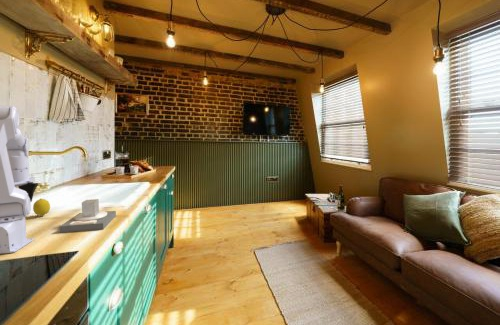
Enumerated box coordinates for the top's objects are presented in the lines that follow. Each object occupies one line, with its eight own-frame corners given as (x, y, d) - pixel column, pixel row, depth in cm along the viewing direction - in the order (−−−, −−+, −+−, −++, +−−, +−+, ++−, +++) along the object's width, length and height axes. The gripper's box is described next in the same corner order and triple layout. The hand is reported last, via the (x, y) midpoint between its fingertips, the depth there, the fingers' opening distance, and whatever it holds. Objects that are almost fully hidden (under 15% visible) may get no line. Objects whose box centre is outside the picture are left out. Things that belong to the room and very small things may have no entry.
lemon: (40, 218, 98) (39, 200, 97) (30, 217, 99) (28, 199, 98) (53, 214, 104) (52, 197, 103) (44, 213, 105) (42, 196, 104)
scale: (103, 229, 87) (103, 221, 87) (60, 232, 84) (59, 224, 83) (116, 216, 103) (115, 209, 103) (79, 218, 99) (79, 211, 99)
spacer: (95, 216, 92) (94, 201, 92) (82, 217, 91) (81, 202, 91) (99, 213, 97) (98, 199, 96) (87, 213, 95) (86, 199, 95)
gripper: (17, 171, 79) (20, 209, 80) (43, 166, 92) (45, 199, 94) (-9, 171, 77) (-5, 211, 78) (21, 166, 91) (24, 200, 92)
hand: (21, 204), depth 86 cm, fingers open, 7 cm apart
